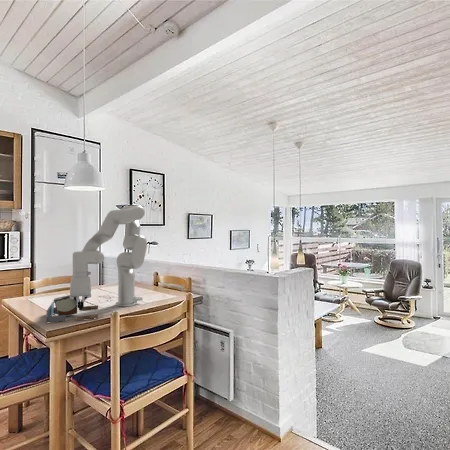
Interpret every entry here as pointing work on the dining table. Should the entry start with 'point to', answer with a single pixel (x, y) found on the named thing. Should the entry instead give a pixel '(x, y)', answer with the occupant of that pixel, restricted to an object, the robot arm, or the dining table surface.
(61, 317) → the slate stop bracket
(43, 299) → the dining table surface
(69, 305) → the food container
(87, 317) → the walnut sleeve
